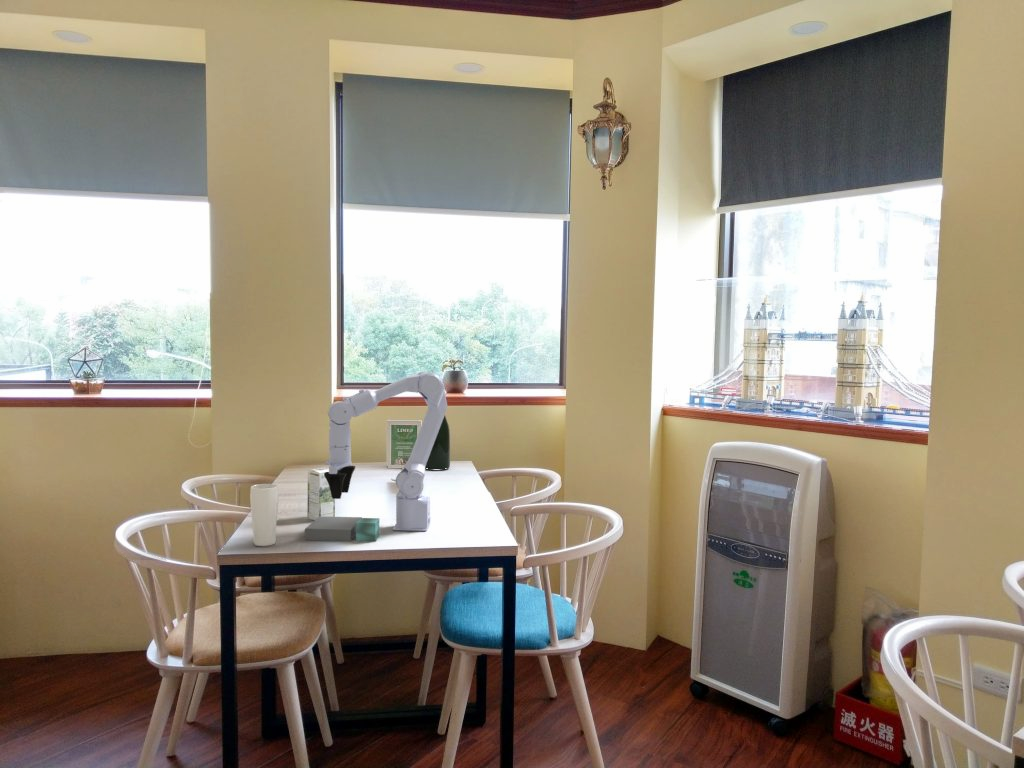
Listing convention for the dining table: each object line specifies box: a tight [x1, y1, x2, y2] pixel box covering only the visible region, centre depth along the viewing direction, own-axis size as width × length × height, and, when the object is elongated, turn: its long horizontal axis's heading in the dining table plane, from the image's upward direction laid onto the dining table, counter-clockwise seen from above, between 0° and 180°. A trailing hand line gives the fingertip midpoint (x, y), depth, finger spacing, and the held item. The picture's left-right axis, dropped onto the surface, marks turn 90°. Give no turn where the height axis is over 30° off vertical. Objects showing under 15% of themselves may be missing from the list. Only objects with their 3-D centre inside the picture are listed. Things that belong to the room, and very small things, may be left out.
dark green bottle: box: [425, 414, 451, 469], centre depth 292 cm, size 10×10×33 cm
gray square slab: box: [304, 516, 363, 542], centre depth 195 cm, size 12×13×3 cm
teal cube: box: [355, 517, 380, 543], centre depth 190 cm, size 5×5×5 cm
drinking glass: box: [249, 483, 279, 547], centre depth 183 cm, size 7×7×15 cm
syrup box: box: [307, 467, 336, 521], centre depth 210 cm, size 6×6×14 cm
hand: (340, 495), depth 196 cm, fingers open, 7 cm apart
